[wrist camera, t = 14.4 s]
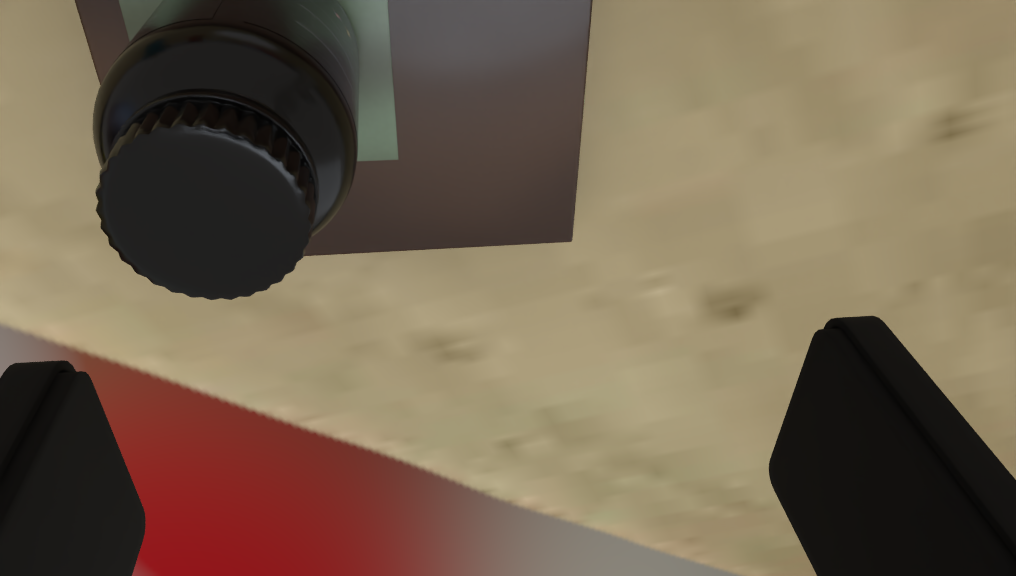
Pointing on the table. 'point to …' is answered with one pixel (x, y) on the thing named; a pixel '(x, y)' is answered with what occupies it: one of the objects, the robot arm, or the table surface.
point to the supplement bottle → (227, 140)
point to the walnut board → (443, 119)
